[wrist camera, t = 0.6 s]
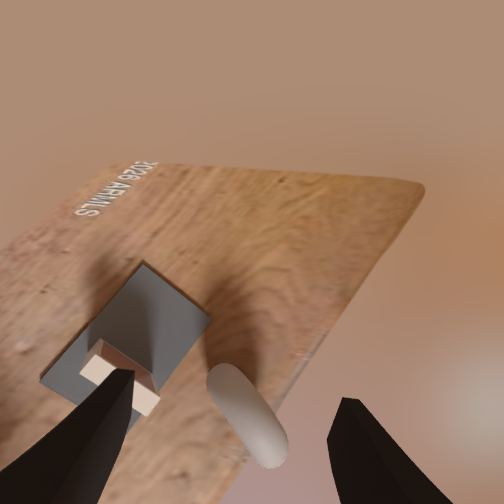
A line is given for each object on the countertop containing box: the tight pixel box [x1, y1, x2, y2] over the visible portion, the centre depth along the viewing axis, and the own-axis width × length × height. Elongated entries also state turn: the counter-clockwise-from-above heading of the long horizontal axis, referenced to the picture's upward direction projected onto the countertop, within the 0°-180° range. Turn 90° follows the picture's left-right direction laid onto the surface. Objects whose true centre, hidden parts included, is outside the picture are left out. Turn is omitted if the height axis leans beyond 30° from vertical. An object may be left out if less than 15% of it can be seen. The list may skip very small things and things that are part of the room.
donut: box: [206, 363, 288, 468], centre depth 29 cm, size 10×4×10 cm, turn 31°
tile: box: [79, 338, 161, 417], centre depth 27 cm, size 2×6×6 cm, turn 49°
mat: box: [39, 264, 212, 434], centre depth 30 cm, size 13×9×1 cm
